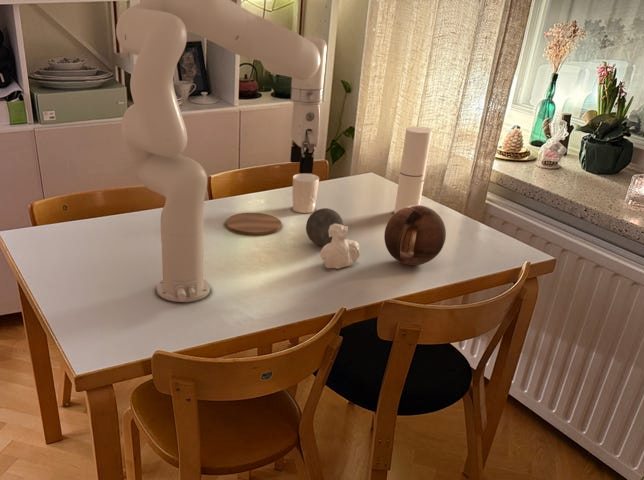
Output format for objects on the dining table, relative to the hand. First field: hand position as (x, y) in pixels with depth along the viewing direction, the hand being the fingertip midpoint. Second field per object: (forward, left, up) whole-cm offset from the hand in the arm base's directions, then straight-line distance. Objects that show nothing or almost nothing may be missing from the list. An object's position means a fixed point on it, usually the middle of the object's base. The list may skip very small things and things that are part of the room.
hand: (301, 167), depth 174 cm
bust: (-9, -9, -23) cm, 26 cm away
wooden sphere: (-11, -28, -23) cm, 38 cm away
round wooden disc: (+21, +7, -23) cm, 32 cm away
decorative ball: (+4, -9, -23) cm, 25 cm away
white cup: (+32, -11, -23) cm, 41 cm away
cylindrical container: (+24, -41, -23) cm, 53 cm away
